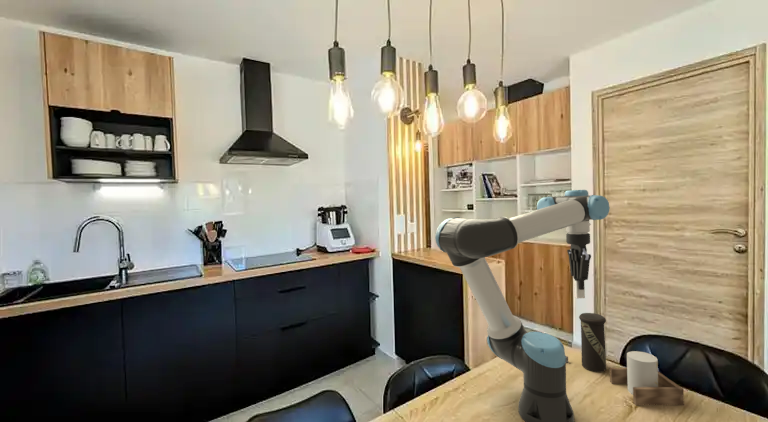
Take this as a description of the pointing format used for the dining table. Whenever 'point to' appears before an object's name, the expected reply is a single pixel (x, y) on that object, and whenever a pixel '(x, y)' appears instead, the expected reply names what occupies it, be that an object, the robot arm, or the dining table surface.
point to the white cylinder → (641, 370)
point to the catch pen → (651, 390)
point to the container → (593, 342)
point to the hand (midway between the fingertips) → (579, 297)
